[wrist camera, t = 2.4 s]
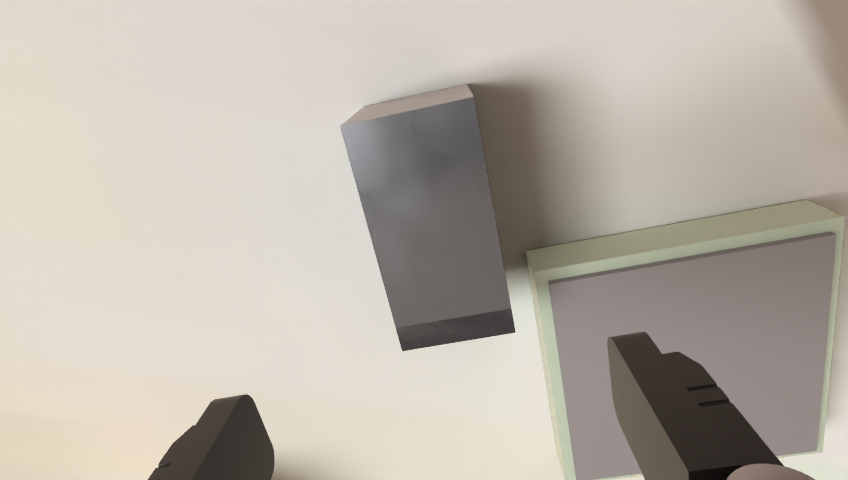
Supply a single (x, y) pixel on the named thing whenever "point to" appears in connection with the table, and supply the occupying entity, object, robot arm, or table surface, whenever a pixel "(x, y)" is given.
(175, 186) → the table surface
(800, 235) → the stand
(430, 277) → the block
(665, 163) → the table surface
